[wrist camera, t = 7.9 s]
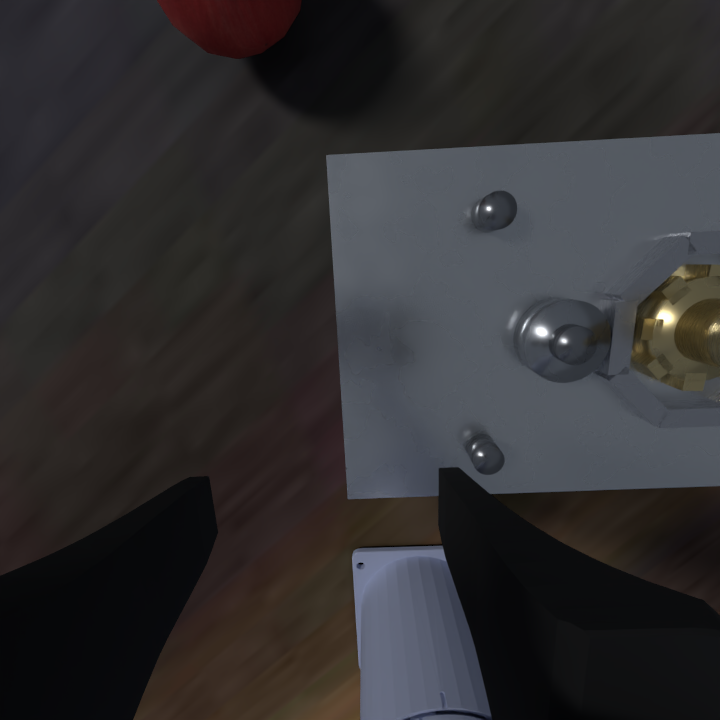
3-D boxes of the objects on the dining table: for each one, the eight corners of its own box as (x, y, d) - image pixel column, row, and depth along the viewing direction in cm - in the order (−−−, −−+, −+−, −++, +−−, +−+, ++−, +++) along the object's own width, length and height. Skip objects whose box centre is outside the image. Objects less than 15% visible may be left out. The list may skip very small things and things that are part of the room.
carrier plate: (734, 475, 22) (796, 510, 19) (348, 489, 23) (345, 525, 20) (808, 134, 18) (904, 106, 15) (328, 160, 18) (320, 139, 15)
